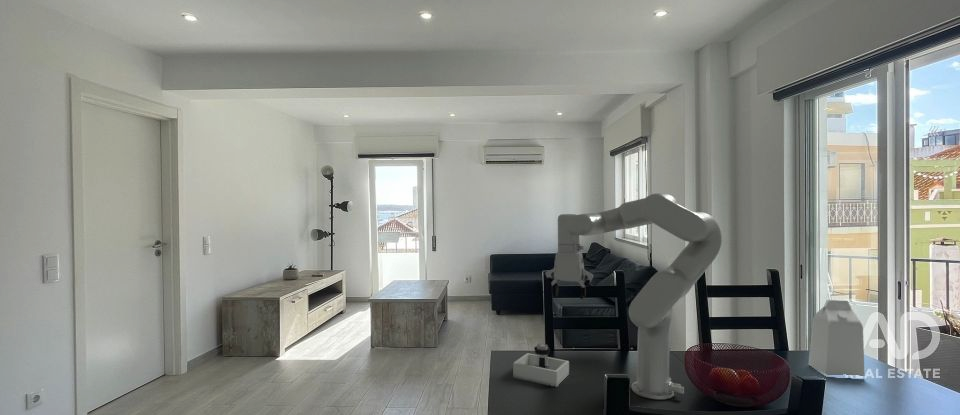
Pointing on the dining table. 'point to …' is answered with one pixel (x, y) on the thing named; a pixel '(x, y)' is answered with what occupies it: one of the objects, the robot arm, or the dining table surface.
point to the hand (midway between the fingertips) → (569, 297)
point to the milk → (837, 340)
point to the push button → (542, 355)
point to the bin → (541, 370)
